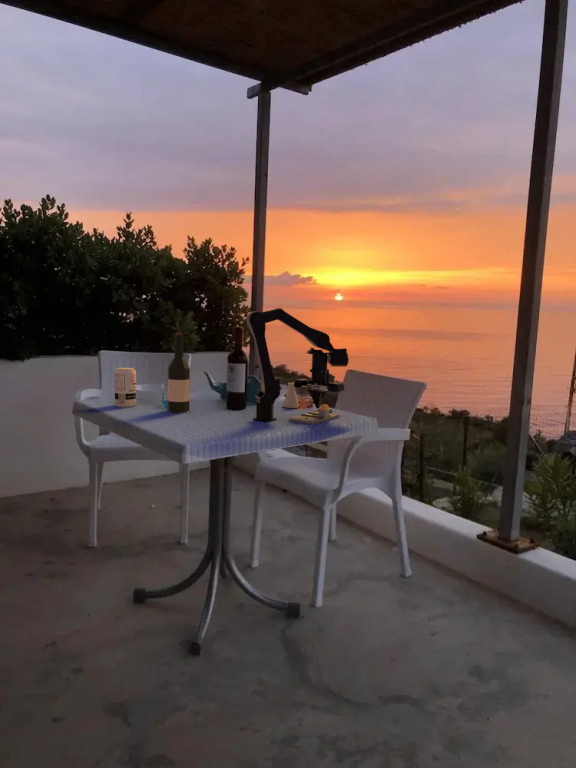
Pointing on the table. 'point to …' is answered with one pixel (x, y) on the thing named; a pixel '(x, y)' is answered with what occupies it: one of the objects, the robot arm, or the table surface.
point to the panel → (312, 418)
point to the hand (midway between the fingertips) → (317, 408)
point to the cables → (328, 408)
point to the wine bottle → (178, 379)
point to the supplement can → (125, 387)
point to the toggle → (324, 411)
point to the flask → (291, 397)
